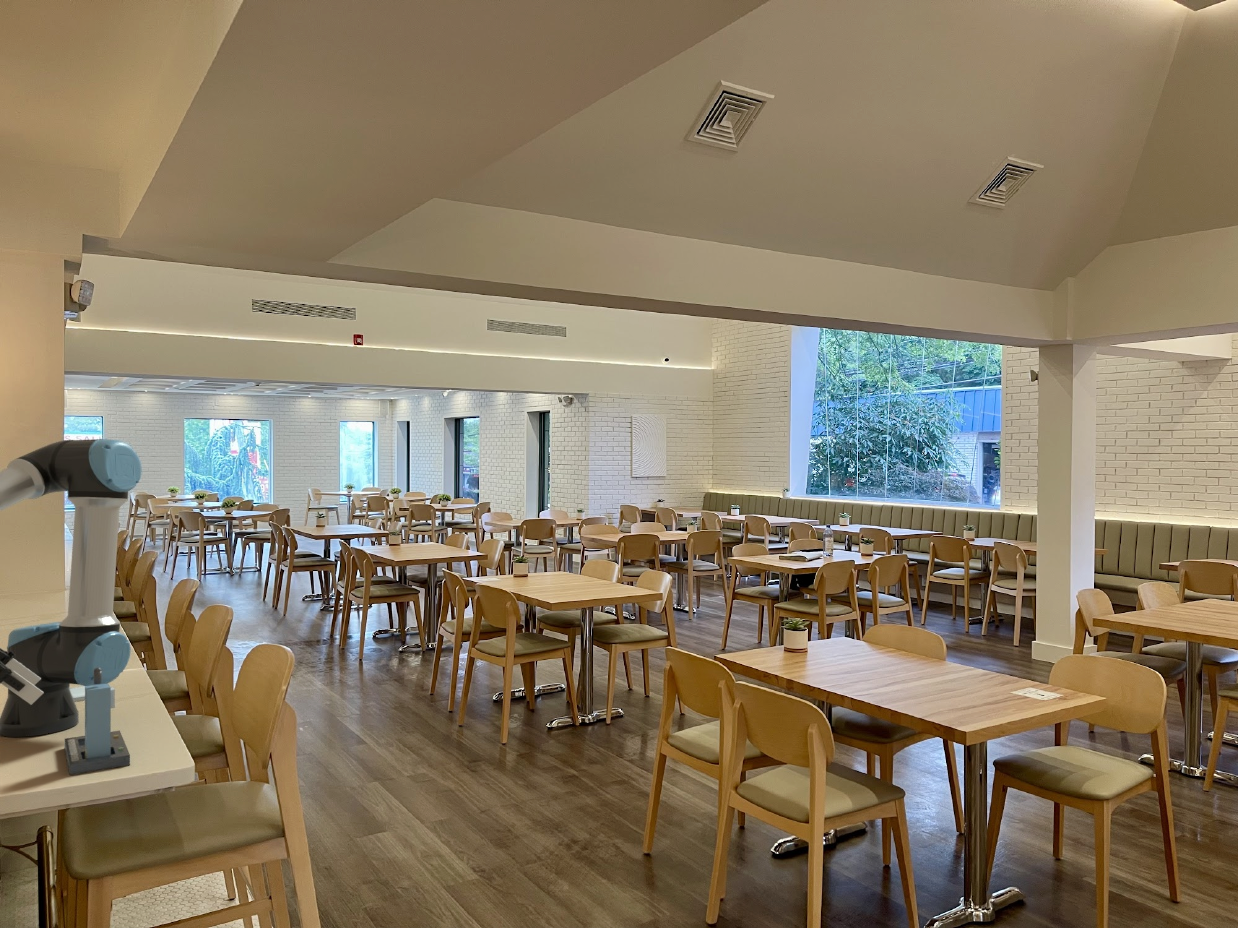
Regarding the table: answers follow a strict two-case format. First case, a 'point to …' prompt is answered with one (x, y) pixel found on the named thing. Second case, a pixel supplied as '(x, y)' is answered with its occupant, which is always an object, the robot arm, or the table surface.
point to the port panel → (82, 765)
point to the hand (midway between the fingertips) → (36, 691)
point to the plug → (98, 717)
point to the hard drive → (78, 693)
